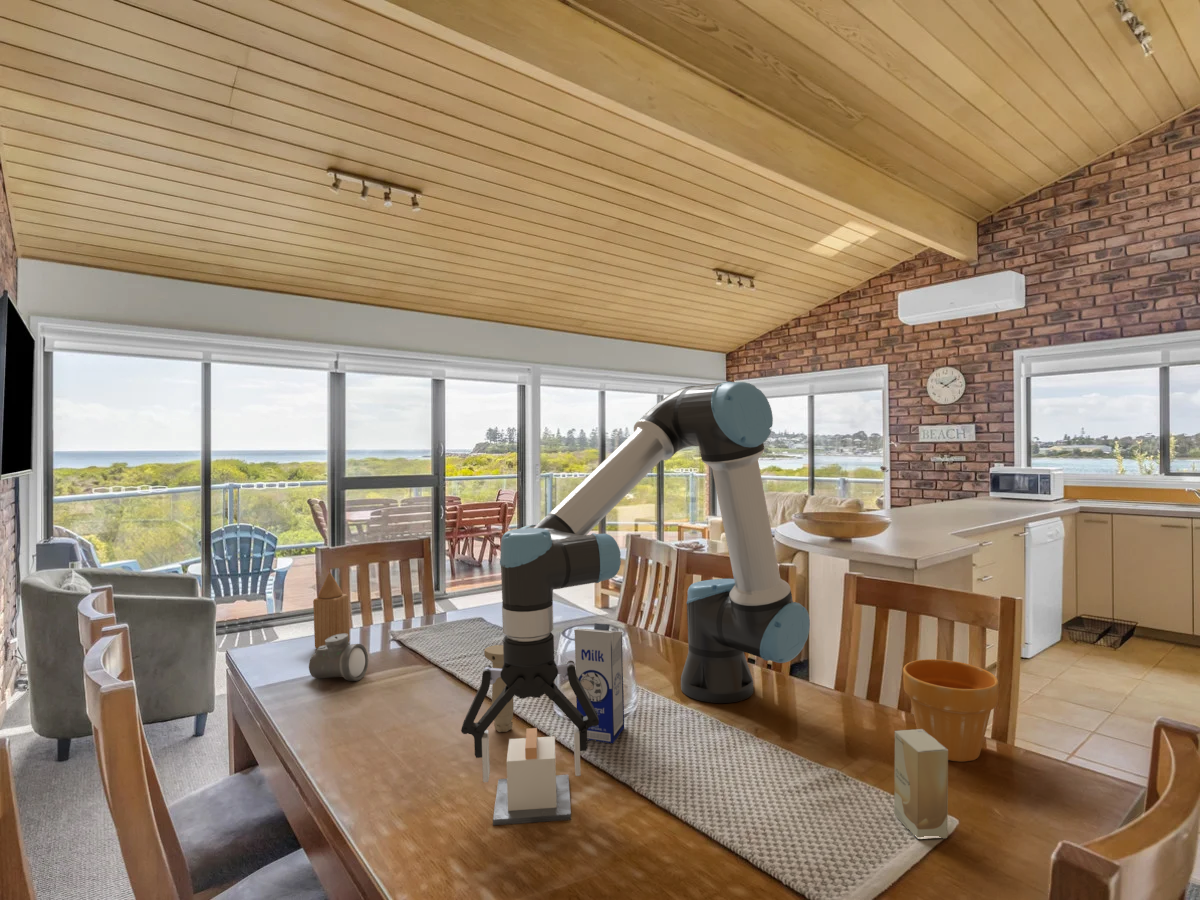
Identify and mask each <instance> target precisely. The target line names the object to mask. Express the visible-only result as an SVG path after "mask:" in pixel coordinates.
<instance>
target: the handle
mask: <svg viewBox="0 0 1200 900" xmlns="http://www.w3.org/2000/svg"><path fill="white" fill-rule="evenodd" d="M483 651H484V657H485V659H487V660H488V661H490V662H491V664H492V668H499V669H502V667H503V665H504V655H503V644H497V645H491V646H490V645H489V646H488V647H485V649H484V650H483ZM491 686H492V688H491V689H492V690H491V705H492V704H493V703H494V701H495V700H496V699H497V698H498V696H499V695H500V694H501V692H502V691H503V689H504V688H505V686H506V684H505V683H504V681H503V680H502V679H501V677H499V678H497V679H496V682H495V683H494V684H491ZM513 718H514V697H513V698H512V699H511V700H510V701H509V702H508V703H507V704H506V705H505V707H504V708H503V709H502V710H501V712H500V713H499V714H498V715H497V717H496V718H495V719H494V721H493V724H494V725H493V726H494V729H495V730H496V731H497V732H498V733H503V732H504V733H508V732H509V731H510V730H512V729H513V724H514V723H513V721H512V720H513Z"/></svg>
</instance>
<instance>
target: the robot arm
mask: <svg viewBox="0 0 1200 900" xmlns="http://www.w3.org/2000/svg"><path fill="white" fill-rule="evenodd" d="M773 424H774V418H773V411H772V407H771V404H770V402H769V400H768V399H767V397H766V395H765V394H764V392H763V391H762V390H760V388H757V386H755V385H754V384H752V383H750V382H745V381H731V380H730V381H722V382H716V383H710V384H700V385H691V386H685V387H682V388H680V389H677V390H675V391H674V392H671V393H670V394H669V395H667V396H665V397H664V398H662V400H660V401H659V402H657V403H656V404H655V405H654V406H652V407H651V408H650V409H649V410H648V411H647V412H646V413H645V414H644V415H642V416H641V418H640V419H639V420H637V421H636V423H635V424H634V425H633V432H632V433H631V434H630V435H629V436H628V437H627V438H626V439H625V440H624V441H623V442H622V443H621V444H620V445H618V447H617V448H616V449H614V451H612V453H610V454H609V455H608V456H607V457H606V458H605V459H604V460H602V462H601V463H600V464H599V465H597V467H596V468H594V469H593V470H592V472H590V473H589V474H588V475H587V476H586V477H585V478H584V479H582V481H581V482H580V483H579V484H578V485H577V486H575V488H574V489H573V490H572V491H571V492H569V494H567V495H566V496H565V497H564V498H563V499H562V500H561V501H560V502H559V503H558V504H557V505H556V506H555V507H554V508H553V509H552V510H551V511H549V513H547V514H546V516H544V517H543V518H542V519H541V520H540V521H539V522H538V523H537V524H530V525H525V526H523V527H520V528H514V529H510V530H507V531H506V532H505V533H504V534H503V535H502V537H501V540H500V541H501V542H500V554H499V555H500V556H499V557H500V558H499V565H500V573H501V574H500V577H501V599H502V600H501V601H502V602H501V604H502V605H501V609H502V610H501V615H502V616H501V617H502V618H501V621H502V633H503V635H504V636H503V637H502V645H503V655H504V665H503V667H502V669H499V668H493V666H491V665H490V664H487V665H485V666H484V667H483V672H482V674H481V675H482V676H481V683H480V686H479V688H478V690H477V692H476V694H475V696H474V698H473V701H472V703H471V704H470V707H469V708H468V711H467V713H466V716H465V718H464V720H463V722H462V726H461V729H460V731H461V733H462V734H463V735H471V736H472V737H473V741H474V745H473V746H474V756H475V758H476V759H482V760H481V762H482V782H483V783H488V782H489V779H490V773H491V772H490V771H491V770H490V767H491V766H490V765H491V763H490V741H489V739H490V738H489V737H490V736H489V735H490V734H489V731H490V730H489V729H488V728H489V727H490V725H491V724H492V723H494V722H495V721H494V719H495V718H496V717H497V715H498V714H499V713H500V712H501V710H502V709H503V708H504V707H505V705H506V704H507V703H508V702H509V701H510V700H511V699H512V698H513V699H514V697H518V698H519V699H526V698H530V697H531V698H535V699H536V698H537V699H538V698H541V697H542V696H543V695H545V696H546V697H547V698H548V699H549V700H550V701H552V702H553V703H554V704H555V705H556V706H557V707H558V708H559V709H560V710H561V711H562V712H563V713H564V714H565V715H566V717H568V719H569V720H570V721H571V722H572V723H573V745H574V747H573V748H574V750H573V752H574V753H573V754H574V773H575V775H574V776H575V777H581V775H582V773H581V752H586V751H587V749H588V740H587V730H588V728H589V727H591V726H597V725H598V724H599V719H598V714H597V712H596V710H595V708H594V707H593V705H592V703H591V701H590V699H589V697H588V696H587V694H586V692H585V690H584V688H583V686H582V684H581V683H580V681H579V679H578V677H577V675H576V665H575V661H573V660H568V662H566V663H565V664H558V665H557V663H556V661H555V635H554V633H553V631H554V603H553V602H554V601H553V597H554V595H553V592H554V590H560V589H565V588H571V587H576V586H577V587H578V586H583V585H589V584H594V583H595V584H598V583H600V582H605V581H607V580H610V579H613V578H614V577H616V576H617V575H618V573H619V571H620V568H621V563H622V559H621V551H620V549H621V548H620V546H619V544H618V542H617V540H616V539H615V538H614V537H613V536H612V535H610V534H608V533H594V532H593V533H590V532H591V531H592V530H593V529H594V528H595V527H596V526H597V525H598V524H599V523H600V522H601V521H602V520H603V519H604V518H605V517H606V516H607V515H608V514H609V513H611V511H612V510H614V508H615V507H616V506H617V505H618V504H619V503H620V502H621V501H622V500H623V499H624V498H625V497H626V496H627V495H628V494H629V493H630V492H631V491H632V490H633V489H634V488H635V487H636V486H637V485H638V484H639V483H640V482H641V481H642V480H643V479H644V478H645V477H646V476H648V474H649V473H650V472H651V471H652V470H653V469H654V468H655V467H656V466H657V465H658V464H659V463H660V462H661V461H668V460H670V459H671V458H672V457H673V456H674V455H675V454H676V453H678V452H679V451H681V450H683V449H686V448H688V447H699V448H698V449H699V453H700V457H701V462H702V463H704V464H706V466H708V467H710V468H711V470H712V471H711V472H712V475H713V480H714V486H715V492H716V496H717V499H718V506H719V510H720V516H721V520H722V525H723V530H724V535H725V540H726V541H725V542H726V546H727V550H728V555H729V560H730V561H729V562H730V566H731V570H732V575H733V578H716V579H714V578H713V579H706V580H701V581H696V582H693V583H691V584H690V585H689V586H688V589H687V599H686V616H687V618H686V619H687V620H686V621H687V642H688V643H687V644H688V653H687V657H686V659H685V663H684V666H683V669H682V672H681V676H680V689H681V692H682V693H683V694H684V695H686V696H687V697H689V698H691V699H694V700H696V701H701V702H706V703H713V704H729V703H737V702H741V701H744V700H746V699H749V698H750V697H751V696H753V694H754V678H753V675H752V673H751V670H750V667H749V664H748V661H747V657H746V655H745V653H746V654H749V655H752V656H756V657H758V658H761V659H763V660H764V661H767V662H768V661H771V662H775V663H778V664H785V663H788V662H790V661H793V660H794V659H795V658H796V657H797V656H798V655H799V654H800V653H801V652H802V650H803V649H804V647H805V645H806V642H807V641H808V637H809V633H810V626H811V621H810V620H811V619H810V614H809V611H808V610H807V608H806V607H804V606H803V605H802V604H801V603H799V602H796V601H794V600H793V596H792V590H791V586H790V584H789V582H787V581H786V580H784V579H782V578H781V575H780V570H779V564H778V559H777V553H776V549H775V544H774V538H773V532H772V528H771V522H770V516H769V511H768V506H767V500H766V496H765V495H766V494H765V491H764V490H765V489H764V485H763V479H762V474H761V469H760V465H759V460H760V457H761V455H762V454H763V453H764V452H765V445H764V443H765V442H766V441H767V440H768V438H769V437H770V436H771V433H772V430H771V428H773ZM589 533H590V534H589ZM558 675H560V676H562V678H563V680H565V681H568V682H569V687H570V688H571V690H572V691H573V693H574V695H575V698H576V697H577V699H578V701H579V702H580V704H581V706H582V708H583V710H584V712H585V713H586V715H587V716H585V717H584V716H583V715H582V714H581V713H580V712H579V711H578V709H577V706H575V705H574V704H573V703H572V702H571V701H570V699H569V698H568V697H567V696H565V694H564V693H563V692H562V691H561V690H560V689H559V688H558V686H557V685H556V683H555V682H554V681H555V679H556V678H557V677H558ZM499 677H501V679H502V680H503V681H504V683H505V684H506V686H505V688H504V689H503V691H502V692H501V694H500V695H499V696H498V698H497V699H496V700H495V701H494V703H493V704H492V703H491V705H490V706H489V707H488V709H487V710H486V711H485V713H484V714H483V715H482V717H480V719H479V720H478V721H477V722H475V720H476V718H477V716H478V714H479V711H480V709H481V707H482V705H483V703H484V700H485V698H486V696H487V694H488V692H489V689H490V685H492V684H494V683H495V682H496V679H497V678H499Z"/></svg>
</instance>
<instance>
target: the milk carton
mask: <svg viewBox="0 0 1200 900" xmlns="http://www.w3.org/2000/svg"><path fill="white" fill-rule="evenodd" d="M610 625H611V624H609V623H606V624H605V623H598V622H595V623H594V626H593V629H592V628H579V627H578V628H575V629H573V630H574V655H575V656H574V657H575V658H574V659H575V661H574V663H575V670H576V675H577V677H578V679H579V681H580V683H581V684H582V686H583V688H584V690H585V692H586V694H587V696H588V697H589V699H590V701H591V703H592V705H593V707H594V708H595V710H596V712H597V714H598V719H599V724H598V725H597V726H591V727H589V728H588V730H587V739H589V740H588V741H591V740H596V741H595V742H598V741H599V742H598V743H605V742H606V744H611V743H612V744H614V743H615V742H616V740H617V739H618V737H619V736H620V735H621V733H622V732H623V731H624V729H625V705H624V704H625V702H624V693H625V692H624V666H623V665H624V663H623V661H624V660H623V655H624V654H623V631H618V630H617V631H616V630H610ZM575 699H576V708H577V709H578V711H579V712H580V713H581V714H582V715H583V716H584V717H585V716H587V715H586V713H585V712H584V710H583V708H582V706H581V704H580V702H579V701H578V699H577V697H576V696H575Z"/></svg>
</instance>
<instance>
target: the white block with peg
mask: <svg viewBox="0 0 1200 900" xmlns="http://www.w3.org/2000/svg"><path fill="white" fill-rule="evenodd" d="M525 730H526V732H525V737H522V738H520V737H519V738H508V746H507V754H506V779H507V794H508V811H513V810H527V809H541V808H556V807H557V802H556V775H557V774H556V773H557V772H556V770H557V768H556V767H557V765H556V736H554V735H553V736H552V735H551V736H541V737H539V736H538V728H537V727H533V728H526V729H525Z"/></svg>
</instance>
